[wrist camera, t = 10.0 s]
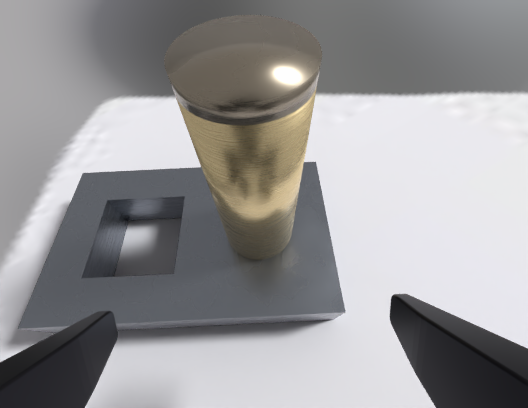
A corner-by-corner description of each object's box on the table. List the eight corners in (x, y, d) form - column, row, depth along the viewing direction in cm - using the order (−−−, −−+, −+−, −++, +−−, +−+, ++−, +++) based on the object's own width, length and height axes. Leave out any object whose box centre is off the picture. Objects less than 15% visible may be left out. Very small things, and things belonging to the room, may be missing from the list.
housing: (333, 319, 18) (345, 312, 15) (59, 333, 18) (17, 328, 15) (310, 185, 25) (315, 161, 22) (105, 195, 24) (83, 173, 21)
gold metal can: (295, 258, 17) (335, 96, 6) (225, 261, 17) (150, 104, 6) (288, 199, 20) (310, 12, 9) (227, 201, 20) (176, 18, 9)
